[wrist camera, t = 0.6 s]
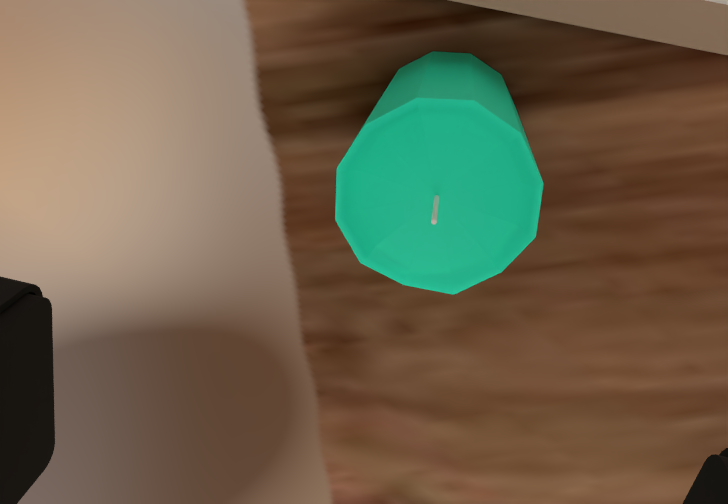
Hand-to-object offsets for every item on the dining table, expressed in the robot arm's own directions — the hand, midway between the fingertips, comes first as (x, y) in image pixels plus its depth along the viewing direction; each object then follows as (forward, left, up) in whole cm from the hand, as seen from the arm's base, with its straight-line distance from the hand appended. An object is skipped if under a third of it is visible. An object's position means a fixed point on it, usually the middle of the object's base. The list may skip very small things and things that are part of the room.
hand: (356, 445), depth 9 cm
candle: (-1, 0, -21) cm, 21 cm away
